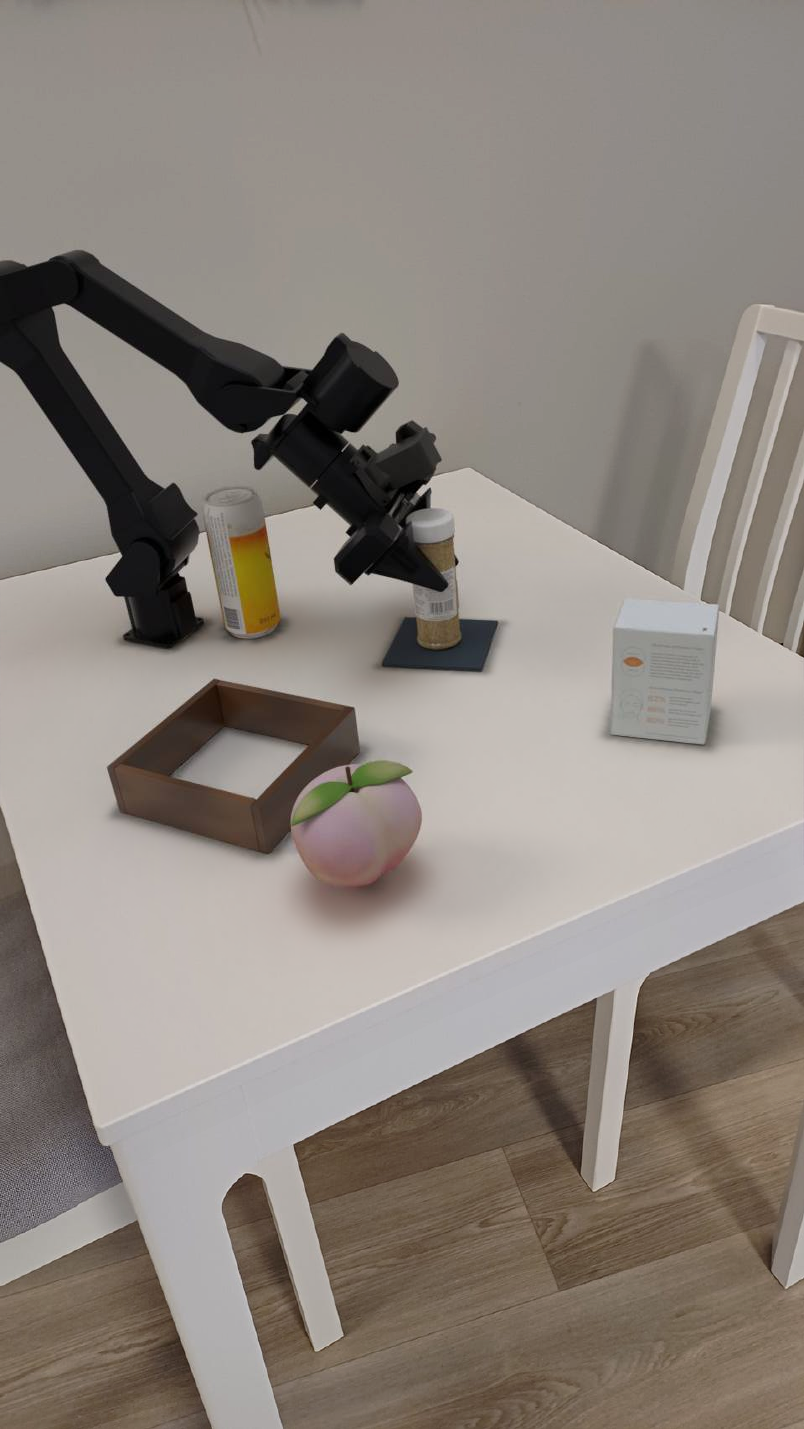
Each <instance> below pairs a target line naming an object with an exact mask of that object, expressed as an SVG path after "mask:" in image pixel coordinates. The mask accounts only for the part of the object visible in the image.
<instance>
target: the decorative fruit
mask: <svg viewBox="0 0 804 1429" xmlns="http://www.w3.org/2000/svg"><path fill="white" fill-rule="evenodd" d="M413 772H414V771H413V770H412V769H411V768H410V767H408V766H407V765H404V764H402V763H399V762H395V761H390V760H374V761H371V762H366V763H364V764H359V763H352V764H348V765H344V766H339V767H336V768H333V769H331V770H329V771H326V772H324V773H323V774H321V775H320V776H318V777H316V778H315V779H314V780H313V781H311V782H310V783H309V784H308V785H307V786H306V787H305V788H304V789H303V790H302V792H301V793H300V795H299V796H298V798H297V800H296V802H295V804H294V807H293V810H292V814H291V829H290V832H291V837H292V840H293V843H294V845H295V848H296V850H297V852H298V855H299V857H300V860H302V862H303V864H304V866H305V867H306V869H307V870H308V871H309V872H310V873H311V875H312V876H314V877H315V878H316V879H318V880H319V881H320V882H323V883H325V884H327V885H330V886H334V887H338V888H339V887H340V888H361V887H365V886H368V885H371V884H373V883H374V882H375V881H377V880H378V879H379V878H380V877H381V876H383V875H385V874H388V873H390V872H392V871H393V870H394V869H395V868H396V867H398V866H399V865H400V864H401V862H403V860H404V859H405V858H406V856H407V855H408V854H409V852H410V850H411V849H412V848H413V846H414V844H415V842H416V840H417V839H418V836H419V834H420V831H421V827H422V822H423V813H422V807H421V805H420V802H419V800H418V797H417V796H416V794H415V792H414V791H413V789H412V788H411V786H410V785H409V784H408V783H407V782H406V781H405V780H404V779H403V778H404V777H406V776H409V775H410V774H413Z"/></svg>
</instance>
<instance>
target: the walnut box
mask: <svg viewBox="0 0 804 1429" xmlns="http://www.w3.org/2000/svg"><path fill="white" fill-rule="evenodd" d="M223 727H229V728H234V729H236V730H237V729H238V730H243V731H247V732H251V733H255V734H260V735H264V736H268V737H271V738H272V737H273V738H278V739H281V740H286V741H290V742H294V743H298V744H299V743H300V744H304V745H307V747H305V749H304V750H302V751H301V753H300V754H299V755H298V756H297V757H296V758H295V759H294V760H293V761H292V762H291V763H289V765H288V766H287V767H286V768H285V769H284V770H283V771H282V773H280V774H279V776H278V777H276V778H275V780H274V781H273V782H272V783H271V784H270V785H269V786H268V787H267V788H266V789H265V790H264V791H263V792H262V793H261V794H260V795H259V796H258V797H257V798H254V797H250V796H246V795H242V794H238V793H235V792H231V791H227V790H223V789H220V788H215V787H212V786H208V785H203V784H200V783H196V782H192V781H189V780H185V779H181V778H176V777H174V776H170V775H171V774H172V773H174V772H175V771H176V770H177V769H178V768H179V767H180V766H181V765H182V764H184V763H185V761H187V760H188V759H189V758H191V756H192V755H193V754H195V753H196V752H197V751H198V750H199V749H200V748H201V747H203V746H204V745H205V744H206V743H207V742H208V741H209V740H210V739H212V738H213V737H214V736H215V735H216V734H217V733H218V732H219V731H220V730H222V729H223ZM360 752H361V746H360V740H359V730H358V721H357V714H356V707H355V706H350V705H345V704H341V703H336V702H331V701H325V700H321V699H317V698H312V697H306V696H301V695H297V694H291V693H287V692H281V691H278V690H277V691H276V690H272V689H267V688H261V687H257V686H252V685H248V684H242V683H238V682H233V681H227V680H222V679H218V678H213V679H212V680H210V681H209V682H208V683H207V684H206V685H205V686H203V687H201V689H200V690H198V691H197V692H196V693H194V694H193V695H192V696H191V697H190V698H188V699H187V700H186V701H185V702H183V703H182V704H181V705H180V706H179V707H178V708H176V709H175V710H174V711H173V712H172V713H170V714H169V715H168V716H166V718H164V719H162V721H161V722H160V723H158V724H157V725H156V726H155V727H153V728H152V729H151V730H150V731H148V732H147V733H146V734H145V735H144V736H143V737H141V738H140V739H139V740H137V741H136V742H135V743H134V744H133V745H132V746H130V747H129V748H127V750H125V751H124V752H123V753H122V754H121V755H120V756H118V757H117V758H116V759H114V760H113V761H112V762H111V763H109V764H108V765H107V766H106V769H107V774H108V777H109V780H110V784H111V787H112V790H113V793H114V797H115V801H116V805H117V807H118V811H119V812H121V813H124V814H127V815H130V816H134V817H138V818H141V819H143V820H144V819H145V820H148V821H151V822H155V823H157V824H162V825H166V826H169V827H173V828H176V829H180V830H183V831H186V832H191V833H193V834H196V835H200V836H204V837H207V838H211V839H214V840H217V841H221V842H225V843H229V844H232V845H236V846H238V847H243V848H246V849H250V850H253V851H257V852H261V853H264V854H268V855H269V854H270V853H271V852H272V851H273V849H274V848H275V847H276V846H277V845H278V844H279V843H280V842H281V841H282V840H283V838H285V836H286V835H287V834H288V833H289V832H290V831H291V814H292V810H293V807H294V804H295V802H296V800H297V798H298V796H299V795H300V793H301V792H302V790H303V789H304V788H305V787H306V786H307V785H308V784H309V783H310V782H311V781H313V780H314V779H315V778H316V777H318V776H320V775H321V774H323V773H324V772H326V771H329V770H331V769H333V768H336V767H339V766H344V765H350V763H351V762H352V760H353V759H355V757H356V756H357V755H358V754H359V753H360Z"/></svg>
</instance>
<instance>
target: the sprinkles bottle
mask: <svg viewBox="0 0 804 1429" xmlns="http://www.w3.org/2000/svg"><path fill="white" fill-rule="evenodd" d="M410 521H411V522H412V529H413V539H414V543H415V544H416V545H417V546H418V548H419V549H420V550H421V551H422V552H423V553H424V554H425V556H426V557H427V558H428V559H429V560H430V561H431V562H432V564H433V565H434V566H435V567H436V568H437V569H438V570H439V572H440V573H441V574H442V575H443V577H444V578H445V579H446V580H447V582H448V583H449V586H448V587H447V588H446V589H445V590H444V591H443V592H438V591H435V590H431V589H428V588H425V587H422V586H418V585H415V584H412V590H413V601H414V602H413V603H414V613H415V617H416V618H417V628H418V636H417V641H418V643H419V644H420V645H421V646H423V647H425V648H428V649H434V650H440V649H446V648H449V647H452V646H454V645H456V644H457V643H458V642H459V641H460V640H461V632H460V629H459V619H460V612H459V609H460V600H459V586H458V579H457V569H456V568H457V566H456V567H455V555H456V554H455V547H454V544H455V543H454V538H455V533H456V529H455V518H454V514H453V513H452V512H451V511H450V510H448V509H444V508H439V507H436V508H435V507H431V508H428V509H422V510H418V511H415V512H413V513H411V514H410V515H408V516H407V518H406V525H407V524H408V523H409V522H410Z"/></svg>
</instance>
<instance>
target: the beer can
mask: <svg viewBox="0 0 804 1429" xmlns="http://www.w3.org/2000/svg"><path fill="white" fill-rule="evenodd" d="M201 513H202V518H203V523H204V528H205V533H206V538H207V544H208V548H209V554H210V560H211V564H212V570H213V574H214V575H213V576H214V580H215V586H216V590H217V595H218V600H219V605H220V611H221V616H222V621H223V626H224V628H225V630H227V631H228V632H230V634H231V635H232V636H234V637H236V638H239V639H245V640H246V639H247V640H249V639H257V638H258V639H259V638H261V637H264V636H267V635H269V634H272V633H273V632H274V631H275V630H276V628H277V626H278V624H280V623H279V622H281V619H282V618H281V612H280V605H279V599H278V592H277V586H276V579H275V574H274V567H273V560H272V555H271V548H270V543H269V542H270V540H269V535H268V530H267V524H266V523H267V522H266V518H265V516H266V515H265V510H264V505H263V499H262V498H261V496H260V495H259V494H258V491H257V489H256V488H254V487H253V486H249V485H229V486H223V487H219V488H217V489H212V490H211V491H209V492H207V493H206V494H205V495H204V496H203V503H202V507H201Z"/></svg>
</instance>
